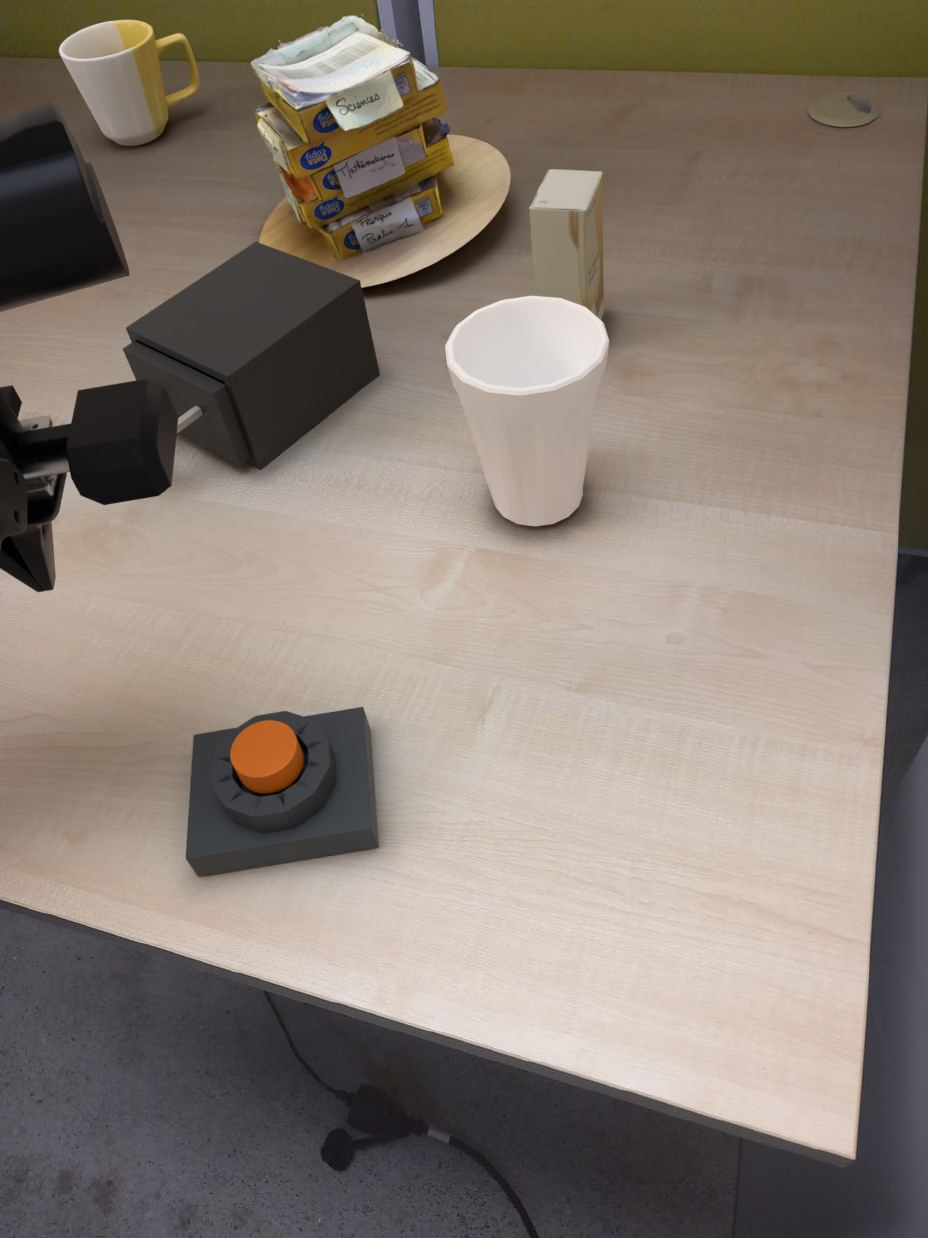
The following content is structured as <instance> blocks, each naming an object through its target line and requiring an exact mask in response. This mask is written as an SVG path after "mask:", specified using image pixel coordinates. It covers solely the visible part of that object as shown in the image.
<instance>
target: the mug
mask: <svg viewBox="0 0 928 1238" xmlns="http://www.w3.org/2000/svg"><path fill="white" fill-rule="evenodd" d="M178 44H179V45H181V46H182V49H183V51H184V54H185V58H186V61H187V64H188V67H189V68H188V69H189V71H190V77H191V83H190V85H189V86H187V87H185V88H184V89H181V90H180V91H176V92H173V93H170V94H167V95H166V91H165V87H164V82H163V77H162V70H161V63H160V57H161V55H162V54H163V52H164V51H165V50H166V49H167V48H169V47H172V46H176V45H178ZM58 53H59V56H60V58H61V59H62V61H63V63H64V65H65V67H66V69H67V71H68V73H69V74H70V76H71V78H72V80H73V82H74V83H75V86H76V87H77V89H78V91H79V92H80V94H81V97H82V99H83V100H84V102H85V103H86V106H87V107H88V109H89V111H90V113H91V114H92V116H93V118H94V120H95V122H96V123H97V125H98V127H99V129H100V131H101V133H102V134H103V135H104V136H105V137H106V138H108V139H109V140H111V141H113V142H114V143H116V144H118V145H120V146H123V147H137V146H142V145H145V144H148V143H150V142H152V141H155V140H156V139H158V138H159V137H160V136H161V135H162V134H163V133H164V131H165V128H166V126H167V122H168V120H169V108H170V107H171V108H172V107H173V106H175V105H177V104H179V103H181V102H183V101H185V100H187V99H189V98H191V97H193V96H194V95H196V94H197V93H198V92H199V90H200V88H201V87H200V86H201V82H200V75H199V69H198V66H197V62H196V59H195V56H194V52H193V50H192V48H191V45H190V43H189V40H188V38H187V37H186V36H185V35H184V33H181V32H178V33H174V34H171V35H167V36H165V37H161V38H159V39H156V35H155V30H154V28H153V26H152V25H151V24H149V23H147V22H145V21H141V20H136V19H118V20H117V19H116V20H110V21H109V20H108V21H103V22H100V23H95V24H93V25H90V26H87V27H84V28H82V29H80V30H78V31H77V32H76V31H75V32H74V33H72V34H71V35H70V36H68V37H66V38H65V40H63V41H62V42H61V44H60V45H59V48H58Z"/></svg>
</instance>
